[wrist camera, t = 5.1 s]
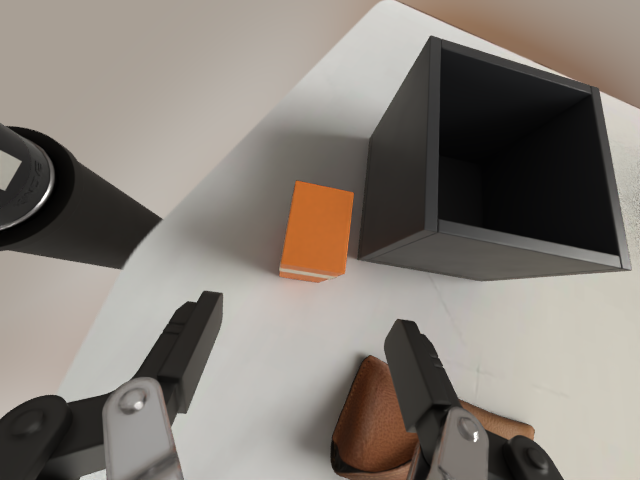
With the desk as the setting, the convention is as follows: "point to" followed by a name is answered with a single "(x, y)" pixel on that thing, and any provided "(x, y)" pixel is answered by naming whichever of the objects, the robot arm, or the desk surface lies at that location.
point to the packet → (316, 233)
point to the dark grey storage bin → (491, 173)
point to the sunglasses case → (388, 428)
